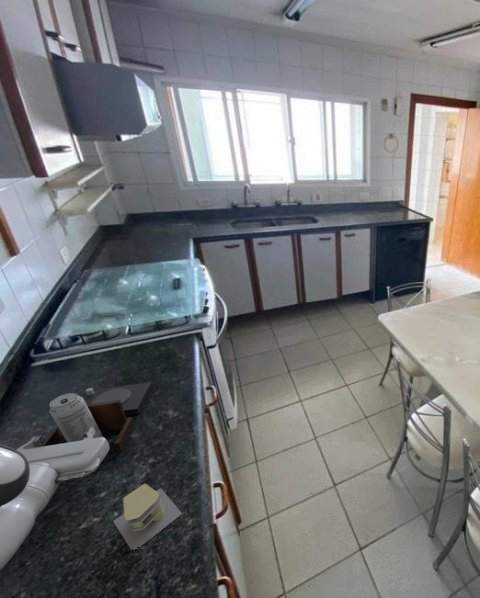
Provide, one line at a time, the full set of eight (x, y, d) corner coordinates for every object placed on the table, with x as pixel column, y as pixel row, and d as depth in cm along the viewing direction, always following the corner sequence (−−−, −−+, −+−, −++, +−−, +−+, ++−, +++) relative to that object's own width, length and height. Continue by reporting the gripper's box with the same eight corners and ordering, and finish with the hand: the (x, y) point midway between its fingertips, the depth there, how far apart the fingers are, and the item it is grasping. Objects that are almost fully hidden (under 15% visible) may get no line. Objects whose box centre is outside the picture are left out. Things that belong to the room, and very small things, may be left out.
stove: (68, 424, 89) (63, 414, 88) (89, 395, 99) (86, 386, 98) (138, 414, 94) (135, 404, 93) (152, 387, 105) (149, 378, 103)
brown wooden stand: (34, 467, 78) (19, 439, 74) (57, 436, 86) (44, 410, 82) (121, 451, 83) (111, 425, 79) (135, 423, 91) (126, 398, 87)
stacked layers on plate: (113, 521, 68) (103, 504, 66) (160, 487, 75) (153, 471, 72) (132, 552, 63) (123, 536, 61) (182, 513, 70) (175, 497, 67)
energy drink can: (100, 431, 88) (78, 387, 81) (106, 443, 84) (82, 399, 78) (70, 445, 84) (44, 400, 77) (75, 458, 80) (47, 413, 74)
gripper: (87, 464, 67) (116, 415, 78) (-52, 490, 60) (2, 432, 72) (97, 485, 69) (123, 435, 81) (-35, 512, 63) (14, 452, 75)
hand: (65, 434), depth 76 cm, fingers open, 8 cm apart
